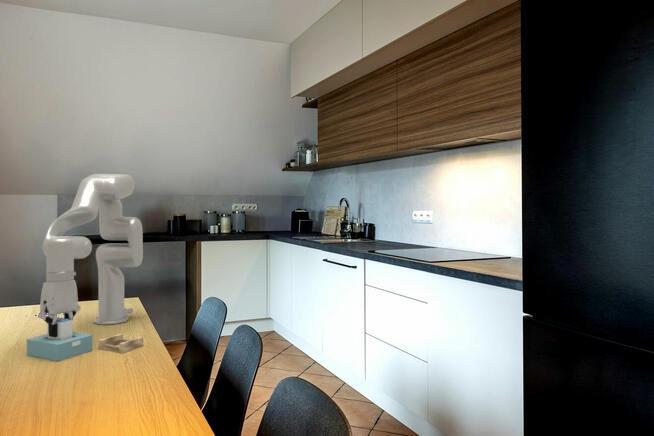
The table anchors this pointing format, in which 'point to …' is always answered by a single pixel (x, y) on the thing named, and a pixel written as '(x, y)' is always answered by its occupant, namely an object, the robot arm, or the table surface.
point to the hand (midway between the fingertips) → (60, 334)
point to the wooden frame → (120, 343)
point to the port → (59, 346)
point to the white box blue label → (63, 329)
